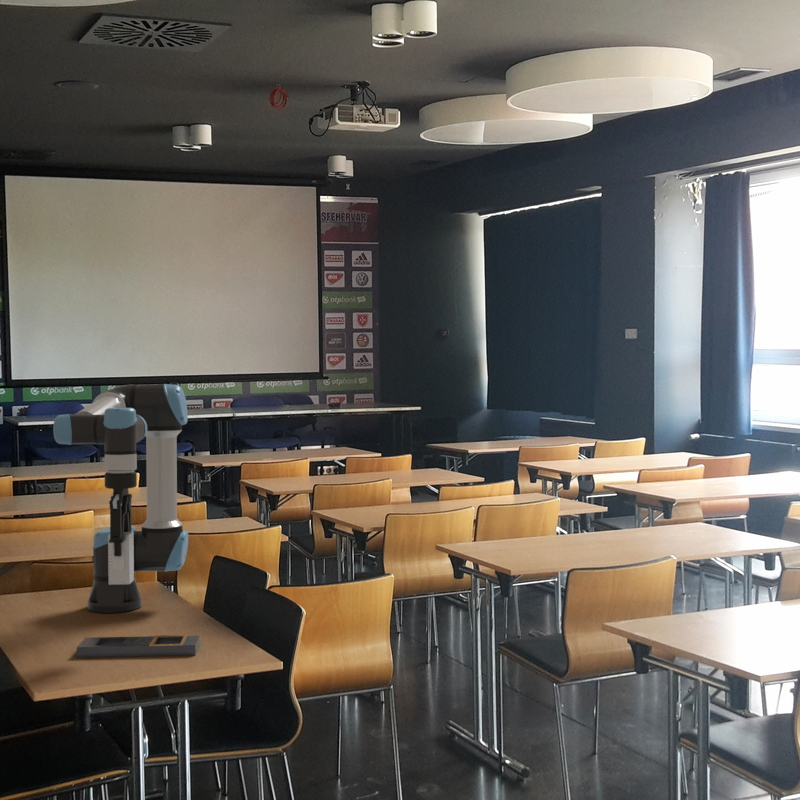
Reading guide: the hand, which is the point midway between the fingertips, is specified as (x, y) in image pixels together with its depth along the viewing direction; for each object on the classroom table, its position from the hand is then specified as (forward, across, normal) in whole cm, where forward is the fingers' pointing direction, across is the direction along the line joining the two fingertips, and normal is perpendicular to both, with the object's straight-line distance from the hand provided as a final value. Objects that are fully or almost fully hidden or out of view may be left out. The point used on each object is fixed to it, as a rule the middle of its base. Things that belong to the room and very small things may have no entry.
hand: (121, 566), depth 251 cm
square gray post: (+4, 0, 0) cm, 4 cm away
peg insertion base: (+21, 0, +4) cm, 21 cm away
